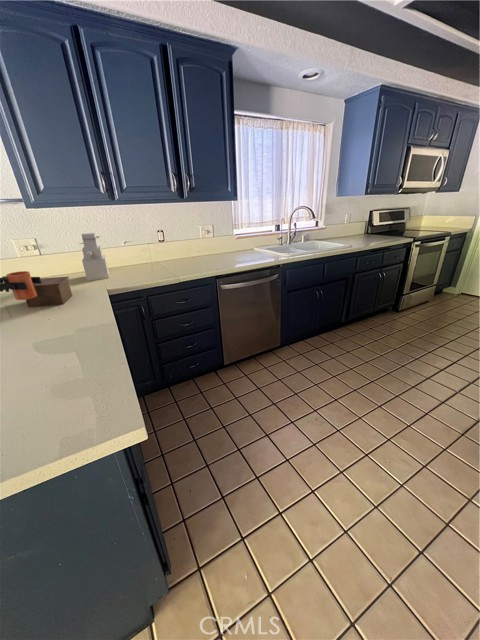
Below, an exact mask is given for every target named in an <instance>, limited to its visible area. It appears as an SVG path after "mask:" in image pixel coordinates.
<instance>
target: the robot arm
mask: <svg viewBox="0 0 480 640" xmlns="http://www.w3.org/2000/svg"><path fill="white" fill-rule="evenodd" d="M31 278H32V281H33V284H41V283H42V282H41V279H40V278H41V277H40V276H31ZM23 289H28V288H27V285H26V282H8V279H7V277H6V275H3V276H1V277H0V292H1V293H2V292H4V291H5V293H9V292H10V291H12V290H23Z"/></svg>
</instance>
